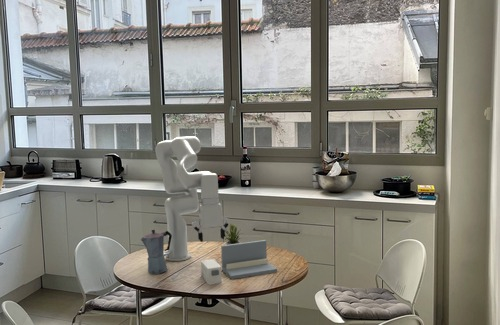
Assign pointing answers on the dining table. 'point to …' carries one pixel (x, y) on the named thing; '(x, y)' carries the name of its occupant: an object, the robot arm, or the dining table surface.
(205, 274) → the cream rectangular block
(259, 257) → the cleat board
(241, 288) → the dining table surface
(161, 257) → the moka pot
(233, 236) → the house plant
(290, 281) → the dining table surface
